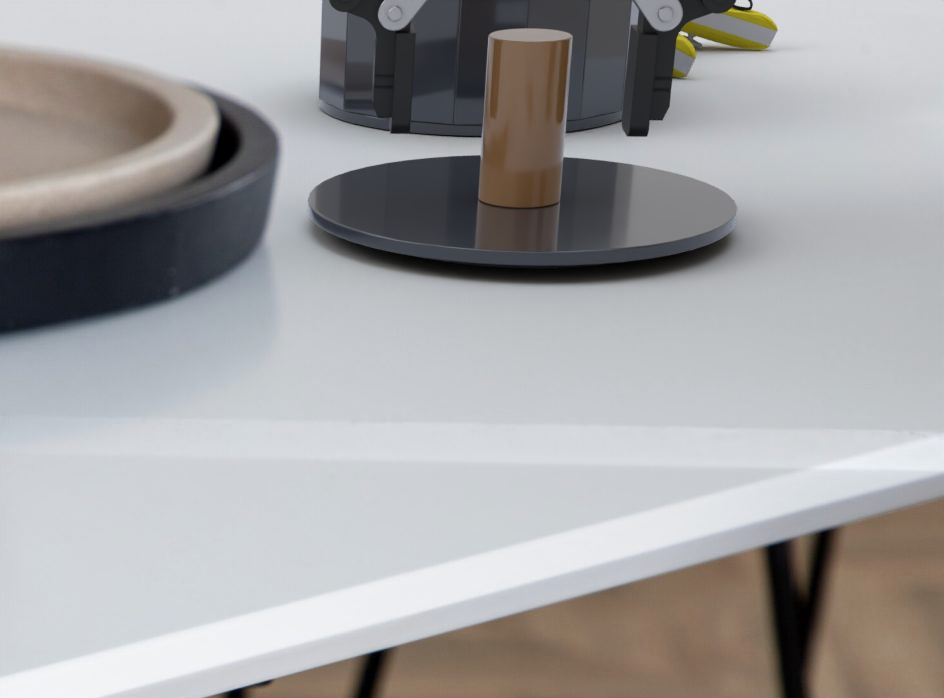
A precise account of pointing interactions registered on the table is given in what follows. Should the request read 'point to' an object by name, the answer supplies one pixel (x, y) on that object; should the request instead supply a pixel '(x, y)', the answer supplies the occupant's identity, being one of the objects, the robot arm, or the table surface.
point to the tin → (476, 60)
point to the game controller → (723, 34)
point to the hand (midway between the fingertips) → (516, 131)
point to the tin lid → (523, 185)
